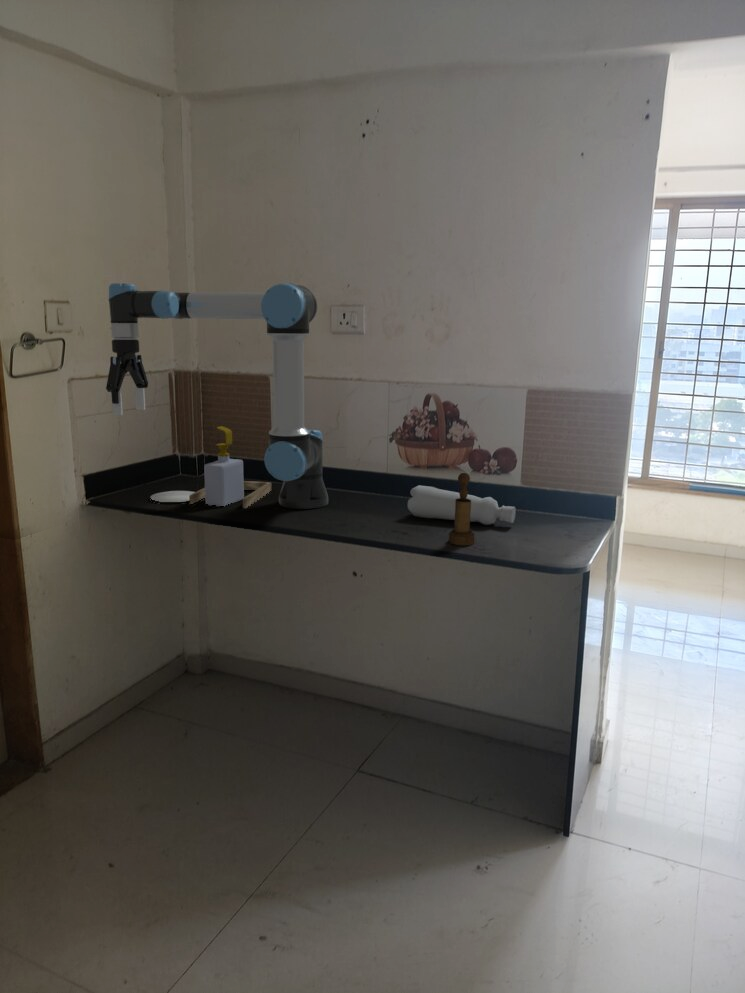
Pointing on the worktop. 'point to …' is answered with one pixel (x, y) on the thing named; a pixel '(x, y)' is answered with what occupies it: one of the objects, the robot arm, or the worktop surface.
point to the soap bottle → (224, 476)
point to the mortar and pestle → (462, 516)
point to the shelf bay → (259, 488)
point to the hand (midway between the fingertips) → (129, 412)
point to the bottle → (443, 506)
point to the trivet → (172, 496)
